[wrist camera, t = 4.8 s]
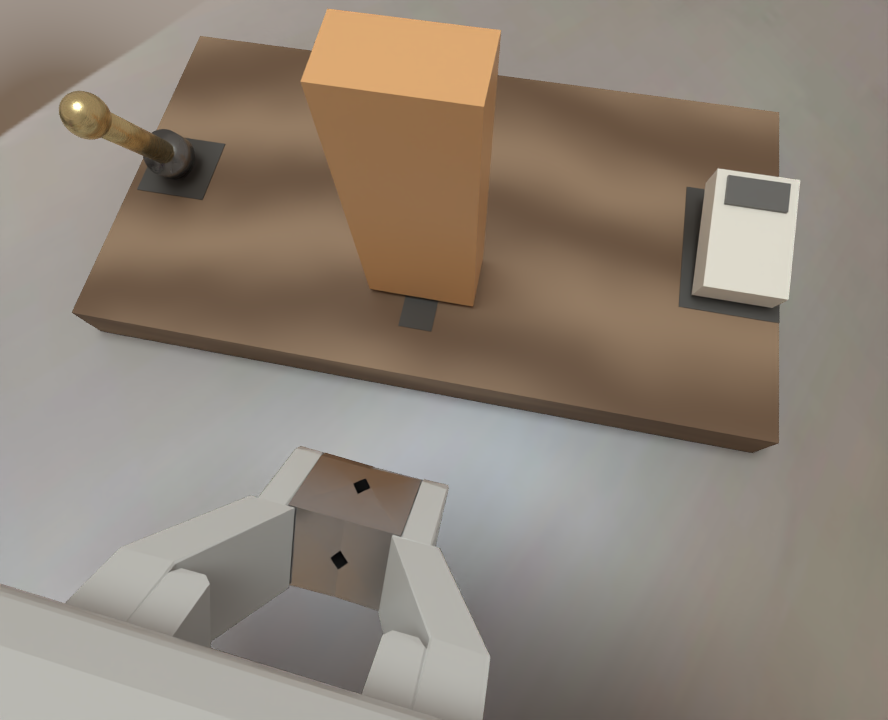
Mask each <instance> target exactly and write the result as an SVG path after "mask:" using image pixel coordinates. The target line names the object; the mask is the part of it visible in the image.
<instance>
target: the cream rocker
mask: <svg viewBox="0 0 888 720" xmlns="http://www.w3.org/2000/svg"><path fill="white" fill-rule="evenodd" d="M799 187H800V180H796V179H789V178H782V177H775V176H768V175H760V174H753V173H746V172H739V171H732V170H725V169H717V170H716V171H715V172H714V174H713V175H712V176H711V177H710V178H709V180H708V181H707V182H706V185H705V193H704V201H703V209H702V217H701V224H700V232H699V240H698V248H697V256H696V264H695V272H694V280H693V288H692V295H696V296H702V297H708V298H714V299H720V300H727V301H733V302H739V303H745V304H751V305H757V306H763V307H769V308H773V307H775V306H777V305H779V304H781V303H783V302H785V301H787V300H789V290H790V280H791V270H792V259H793V249H794V239H795V228H796V218H797V208H798V197H799Z"/></svg>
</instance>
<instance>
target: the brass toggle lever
mask: <svg viewBox="0 0 888 720" xmlns="http://www.w3.org/2000/svg"><path fill="white" fill-rule="evenodd" d="M59 115H60V118H61V121H62V123H63V124H64V126H65V127H66V128H67V129H68V130H69V131H70V132H71V133H73V134H74V135H76V136H78V137H80V138H83V139H89V140H92V139H98V138H103V139H106V140H108V141H110V142H113V143H115V144H117V145H120V146H122V147H124V148H126V149H129V150H131V151H133V152H136V153H138V154H140V155H143V158H144V161H145V163H146V165H147V167H148V168H149V169H150V170H151V171H152V172H154V173H156V174H158V175H161V176H163V177H166V178H168V179H172V180H178V179H182V178H184V177H186V176H187V175H188V174H189V173H190V172H191V171H192V169H193V167H194V164H195V151H194V148H193V146H192V145H191V143H190V142H189V141H188V140H187V139H186V138H184V137H182V136H181V135H179V134H177V133H175V132H173V131H171V130H168V129H159V130H156V131H154V132H152V133H150V132H148V131H146V130H144V129H142V128H140V127H138V126H136V125H134V124H132V123H130V122H128V121H126V120H124V119H122V118H121V117H119V116H117V115H115V114H113V113H111V112H110V110H109V108H108V107H107V105H106V104H105V103H104V102H103V101H102V100H101V99H100V98H99V97H97V96H96V95H94V94H92V93H89V92H85V91H74V92H71V93H69V94H67V95H66V96H65V97H64V98H63V99H62V100H61V102H60V105H59Z"/></svg>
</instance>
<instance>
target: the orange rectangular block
mask: <svg viewBox="0 0 888 720" xmlns="http://www.w3.org/2000/svg"><path fill="white" fill-rule="evenodd" d="M500 37H501V30H494V29H486V28H478V27H470V26H462V25H454V24H446V23H438V22H430V21H422V20H414V19H406V18H398V17H390V16H382V15H374V14H366V13H358V12H350V11H342V10H333V9H327V11H326V14H325V17H324V19H323V22H322V25H321V27H320V30H319V33H318V36H317V38H316V41H315V44H314V46H313V49H312V52H311V54H310V57H309V60H308V62H307V65H306V68H305V71H304V73H303V76H302V79H301V81H300V82H301V85H302V88H303V91H304V94H305V97H306V100H307V103H308V106H309V109H310V112H311V115H312V118H313V121H314V124H315V127H316V130H317V133H318V136H319V139H320V142H321V145H322V148H323V151H324V154H325V157H326V160H327V163H328V166H329V169H330V172H331V175H332V178H333V181H334V184H335V187H336V190H337V193H338V196H339V199H340V201H341V204H342V207H343V210H344V213H345V216H346V219H347V222H348V225H349V228H350V231H351V234H352V237H353V240H354V243H355V246H356V249H357V252H358V255H359V258H360V261H361V264H362V267H363V270H364V273H365V276H366V279H367V282H368V285H369V288H370V289H374V290H380V291H385V292H391V293H397V294H403V295H409V296H415V297H420V298H426V299H432V300H438V301H444V302H450V303H456V304H461V305H467V306H473V305H474V300H475V295H476V290H477V285H478V280H479V275H480V270H481V265H482V260H483V255H484V242H485V229H486V216H487V203H488V191H489V178H490V165H491V152H492V140H493V127H494V114H495V101H496V88H497V76H498V63H499V50H500Z"/></svg>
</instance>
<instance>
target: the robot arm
mask: <svg viewBox="0 0 888 720" xmlns="http://www.w3.org/2000/svg"><path fill="white" fill-rule="evenodd" d="M448 489H449V487H448V485H445V484H441V483H437V482H433V481H429V480H421V479H418V478H414V477H410V476H406V475H402V474H398V473H395V472H391V471H387V470H383V469H379V468H375V467H373V466H369V465H366V464H362V463H359V462H355V461H352V460H349V459H345V458H342V457H338V456H335V455H331V454H328V453H323V452H320V451H316V450H313V449H309V448H306V447H302V446H300V447H298V448H296V449H295V450H294V451H293V452H292V454H291V455H290V456H289V458H288V459H287V460H286V461H285V463H284V464H283V465H282V467H281V468H280V469H279V471H278V472H277V473H276V474H275V476H274V477H273V478H272V480H271V481H270V482H269V484H268V485H267V486H266V487H265V489H264V490H263V491H262V493H261V494H260V495H259V497H254V496H248V497H245V498H243V499H240V500H238V501H235V502H233V503H230V504H228V505H225V506H223V507H220V508H218V509H215V510H213V511H210V512H208V513H205V514H203V515H200V516H198V517H195V518H193V519H190V520H188V521H185V522H183V523H180V524H178V525H175V526H173V527H170V528H168V529H165V530H163V531H160V532H158V533H155V534H153V535H150V536H148V537H145V538H143V539H140V540H138V541H135V542H133V543H130V544H128V545H125V546H123V547H120V548H119V549H118V550H117V551H116V552H115V553H114V554H113V555H112V556H111V557H110V558H109V559H108V560H107V561H106V562H105V563H104V564H103V565H102V566H101V567H100V568H99V569H98V570H97V571H96V573H95V574H94V575H93V576H92V577H91V578H90V579H89V580H88V581H87V582H86V583H85V584H84V585H83V586H82V587H81V588H80V589H79V590H78V591H77V592H76V593H75V594H74V595H73V596H72V597H71V598H70V599H69V600H68V601H67V602H66V603H62V602H59V601H56V600H52V599H49V598H46V597H42V596H39V595H36V594H33V593H29V592H26V591H23V590H20V589H16V588H13V587H10V586H7V585H3V584H0V720H483V713H484V705H485V697H486V689H487V681H488V672H489V664H490V655H489V653H488V651H487V649H486V647H485V644H484V642H483V640H482V638H481V636H480V634H479V631H478V629H477V627H476V625H475V623H474V621H473V619H472V616H471V614H470V612H469V610H468V608H467V606H466V603H465V601H464V599H463V597H462V595H461V593H460V591H459V588H458V586H457V584H456V582H455V580H454V578H453V575H452V573H451V571H450V569H449V567H448V565H447V563H446V560H445V558H444V556H443V554H442V552H441V550H440V548H438V547H435V546H436V542H437V537H438V533H439V529H440V524H441V520H442V516H443V512H444V507H445V503H446V499H447V494H448ZM289 585H292V586H295V587H299V588H303V589H307V590H311V591H315V592H319V593H322V594H326V595H330V596H334V597H337V598H340V599H343V600H346V601H349V602H353V603H356V604H359V605H362V606H365V607H368V608H371V609H374V610H377V611H379V613H378V614H379V618H380V622H381V626H382V631H383V635H382V638H381V641H380V644H379V646H378V649H377V652H376V655H375V658H374V661H373V663H372V666H371V669H370V672H369V675H368V678H367V680H366V683H365V686H364V689H363V692H362V694H358V693H355V692H352V691H349V690H345V689H342V688H339V687H336V686H332V685H329V684H326V683H323V682H319V681H316V680H313V679H309V678H306V677H303V676H300V675H296V674H293V673H290V672H287V671H283V670H280V669H277V668H274V667H270V666H267V665H264V664H261V663H257V662H254V661H251V660H248V659H244V658H241V657H238V656H235V655H231V654H228V653H225V652H222V651H218V650H215V649H212V648H211V641H212V640H214V639H215V638H217V637H218V636H220V635H221V634H223V633H224V632H226V631H227V630H228V629H230V628H231V627H233V626H234V625H236V624H237V623H239V622H240V621H241V620H243V619H244V618H246V617H247V616H249V615H250V614H252V613H253V612H255V611H256V610H257V609H259V608H260V607H262V606H263V605H265V604H266V603H268V602H269V601H270V600H272V599H273V598H275V597H276V596H278V595H279V594H281V593H282V592H284V591H285V590H286V589H288V588H289Z"/></svg>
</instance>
